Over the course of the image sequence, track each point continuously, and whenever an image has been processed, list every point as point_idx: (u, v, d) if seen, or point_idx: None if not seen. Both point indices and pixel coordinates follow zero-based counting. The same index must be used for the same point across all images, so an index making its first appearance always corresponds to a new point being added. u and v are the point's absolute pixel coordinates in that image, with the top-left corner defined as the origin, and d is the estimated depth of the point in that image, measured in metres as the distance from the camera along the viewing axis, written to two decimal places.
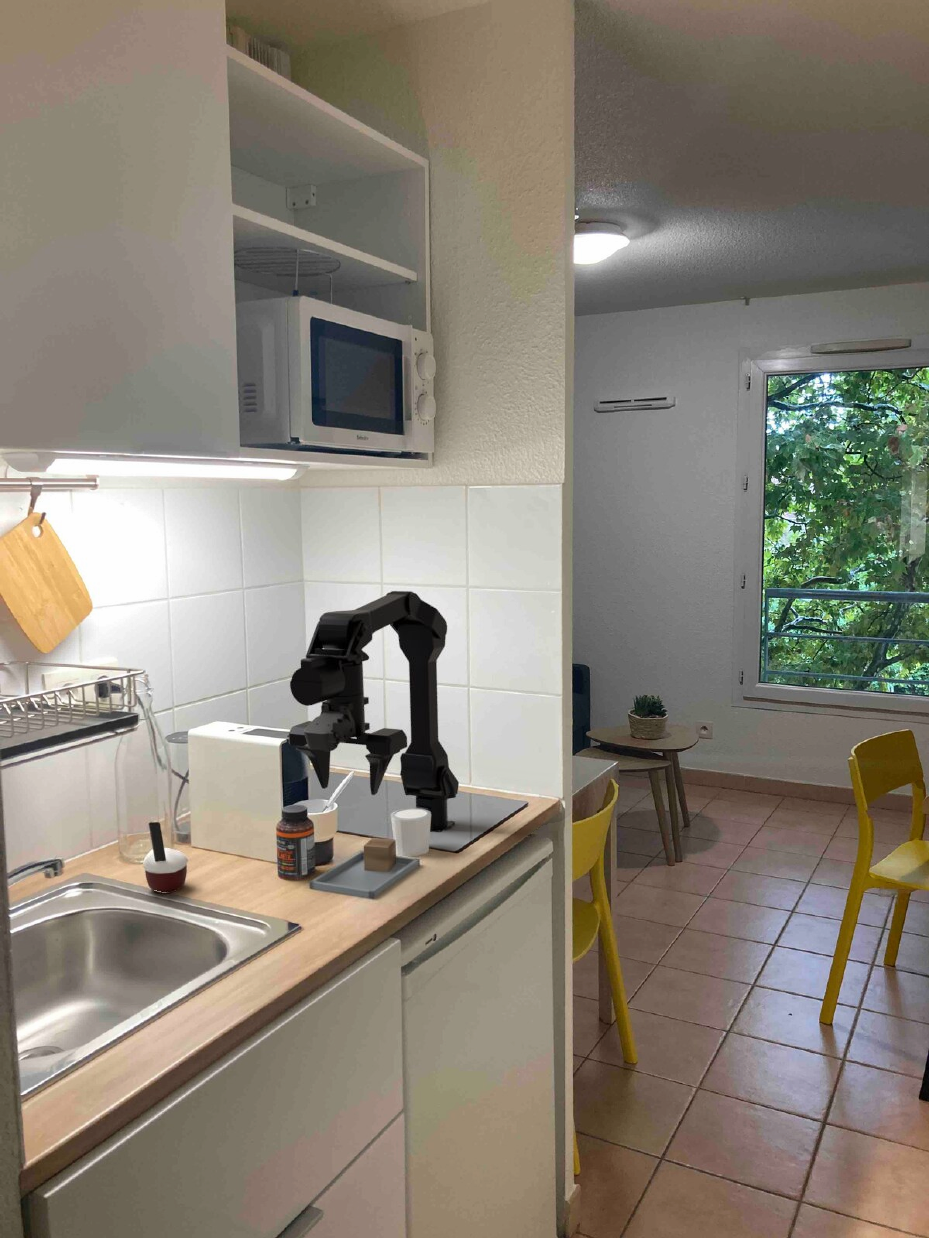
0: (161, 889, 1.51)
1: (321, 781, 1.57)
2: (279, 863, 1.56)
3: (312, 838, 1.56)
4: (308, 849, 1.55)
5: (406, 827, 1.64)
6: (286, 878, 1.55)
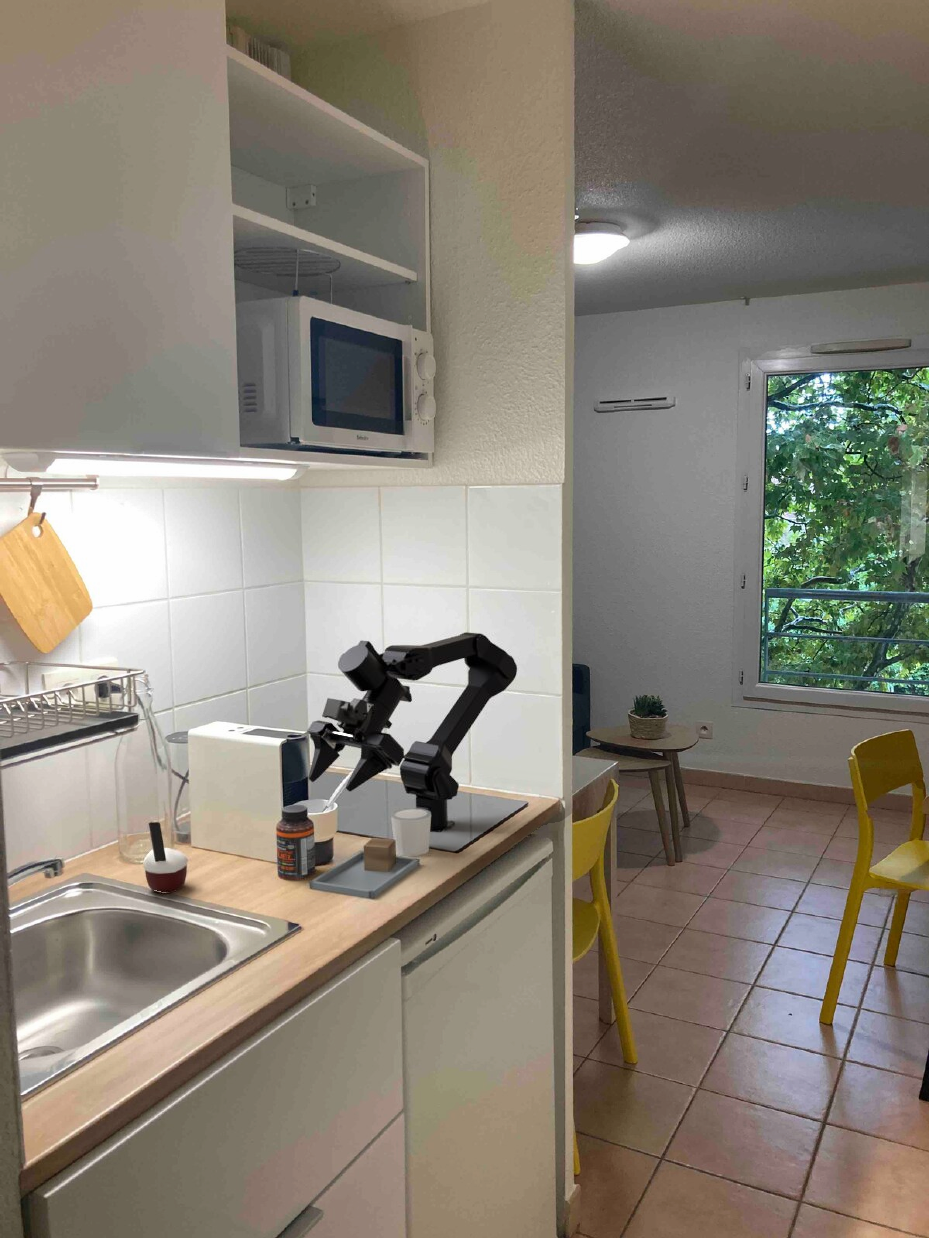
0: (161, 889, 1.51)
1: (311, 771, 1.65)
2: (279, 863, 1.56)
3: (312, 838, 1.56)
4: (308, 849, 1.55)
5: (406, 827, 1.64)
6: (286, 878, 1.55)
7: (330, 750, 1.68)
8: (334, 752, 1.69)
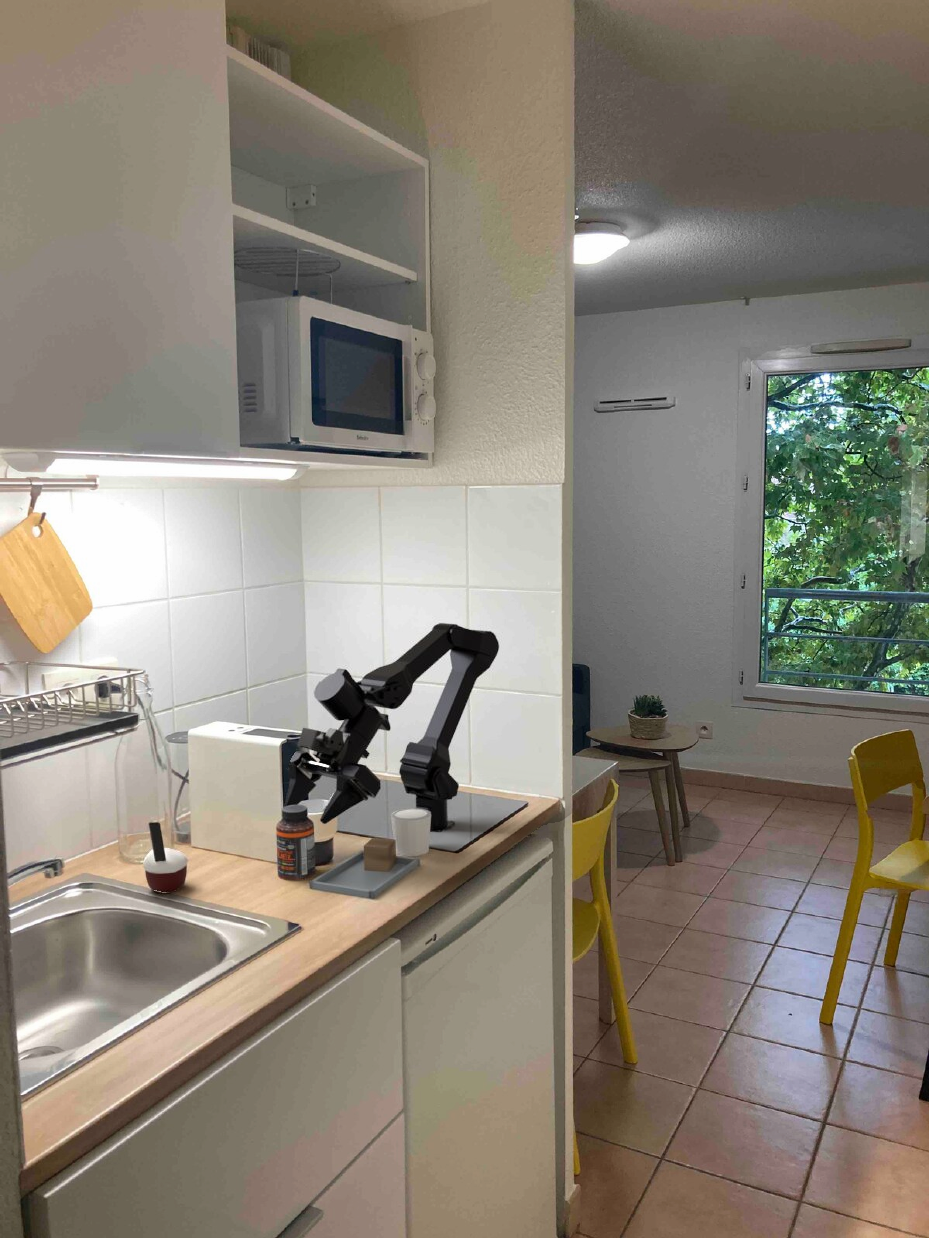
0: (161, 889, 1.51)
1: (286, 802, 1.61)
2: (279, 863, 1.56)
3: (312, 838, 1.56)
4: (308, 850, 1.55)
5: (406, 827, 1.64)
6: (286, 878, 1.55)
7: (306, 780, 1.65)
8: (310, 782, 1.65)
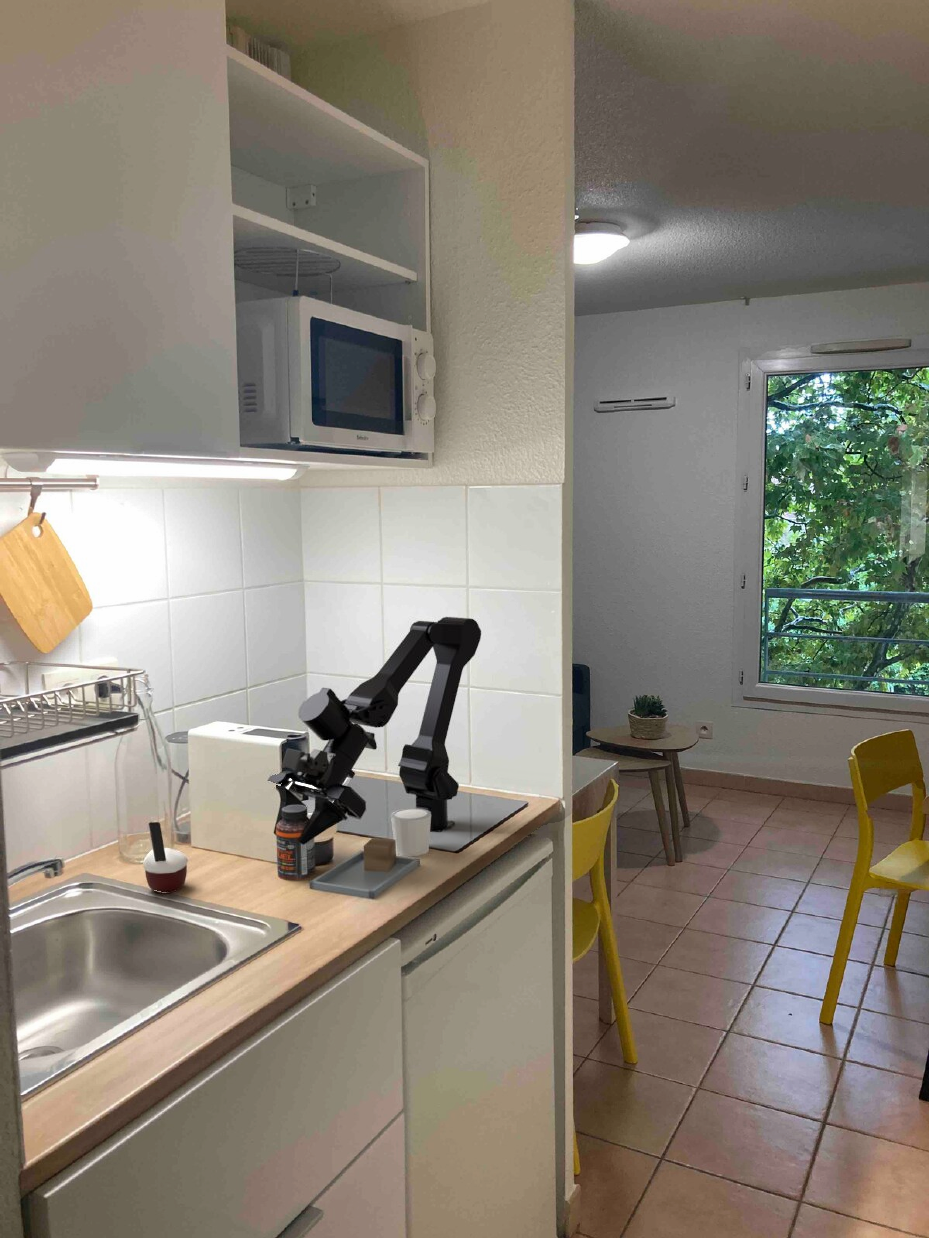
0: (161, 889, 1.51)
1: (276, 825, 1.58)
2: (279, 863, 1.56)
3: None
4: (308, 849, 1.55)
5: (406, 827, 1.64)
6: (286, 878, 1.55)
7: (297, 802, 1.61)
8: (301, 804, 1.62)
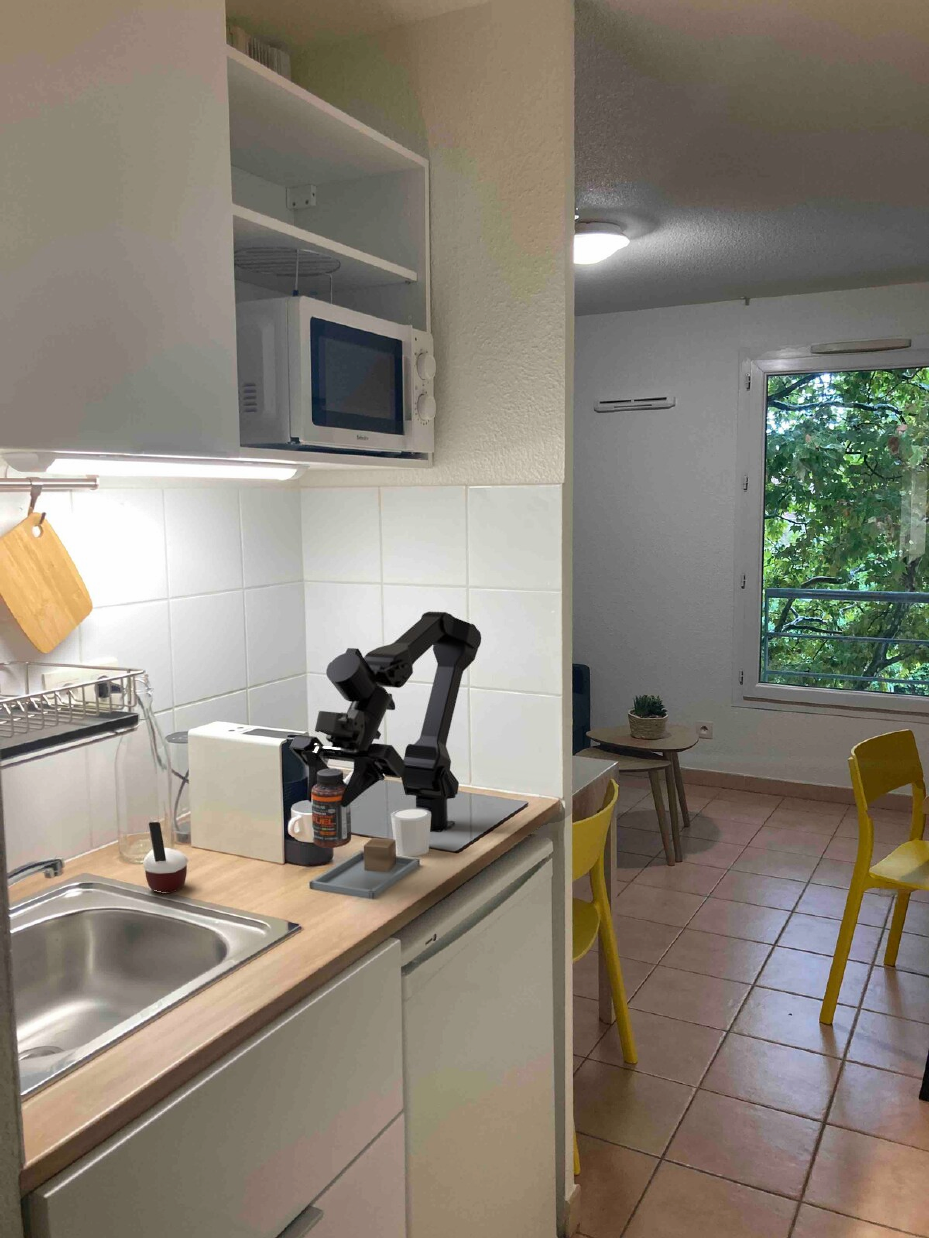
0: (161, 889, 1.51)
1: (309, 791, 1.53)
2: (317, 829, 1.51)
3: None
4: (347, 813, 1.52)
5: (406, 827, 1.64)
6: (326, 843, 1.51)
7: (324, 767, 1.57)
8: None
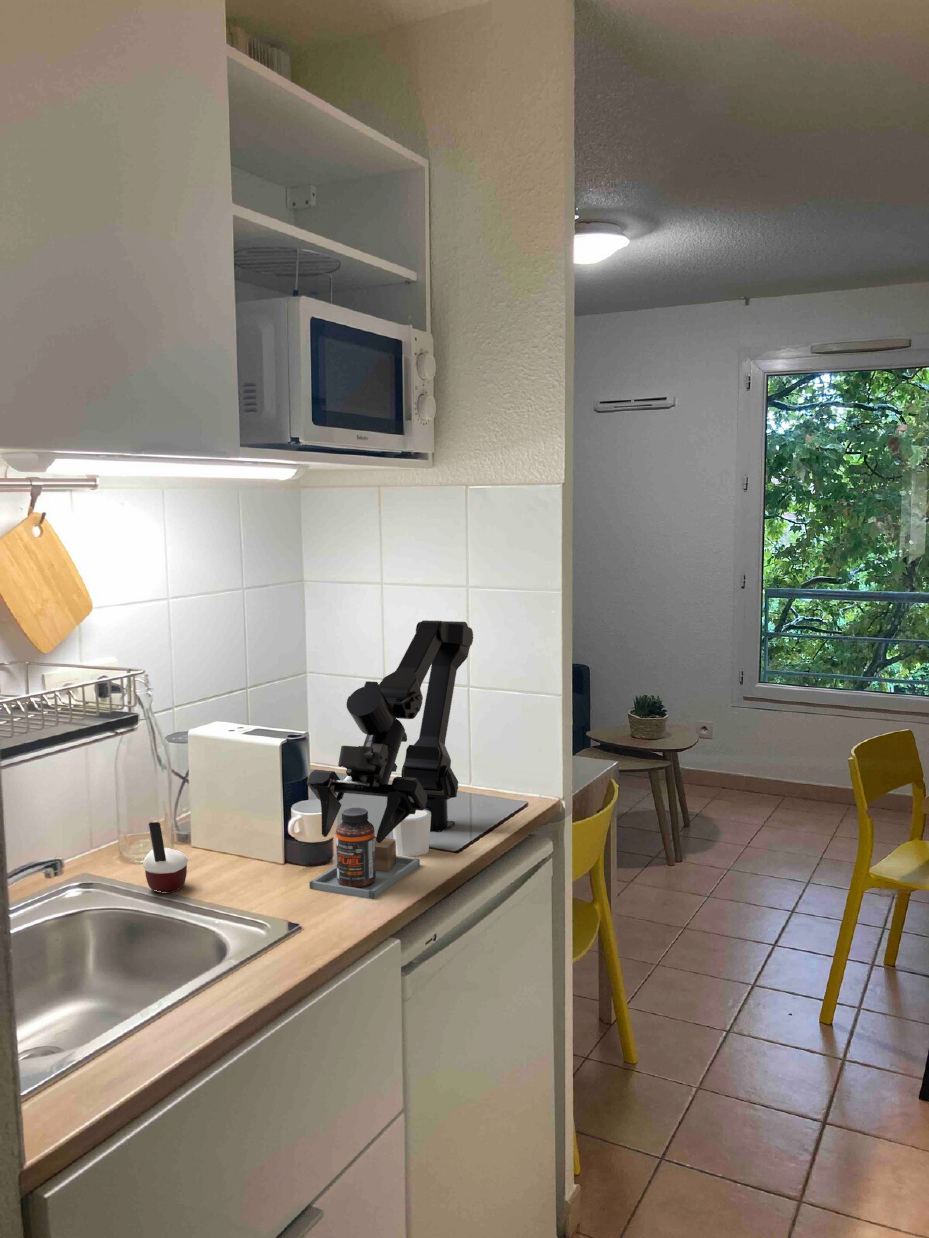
0: (161, 889, 1.51)
1: (324, 826, 1.53)
2: (344, 869, 1.50)
3: (374, 840, 1.53)
4: (373, 852, 1.52)
5: (406, 827, 1.64)
6: (353, 884, 1.50)
7: (335, 800, 1.57)
8: (337, 802, 1.58)
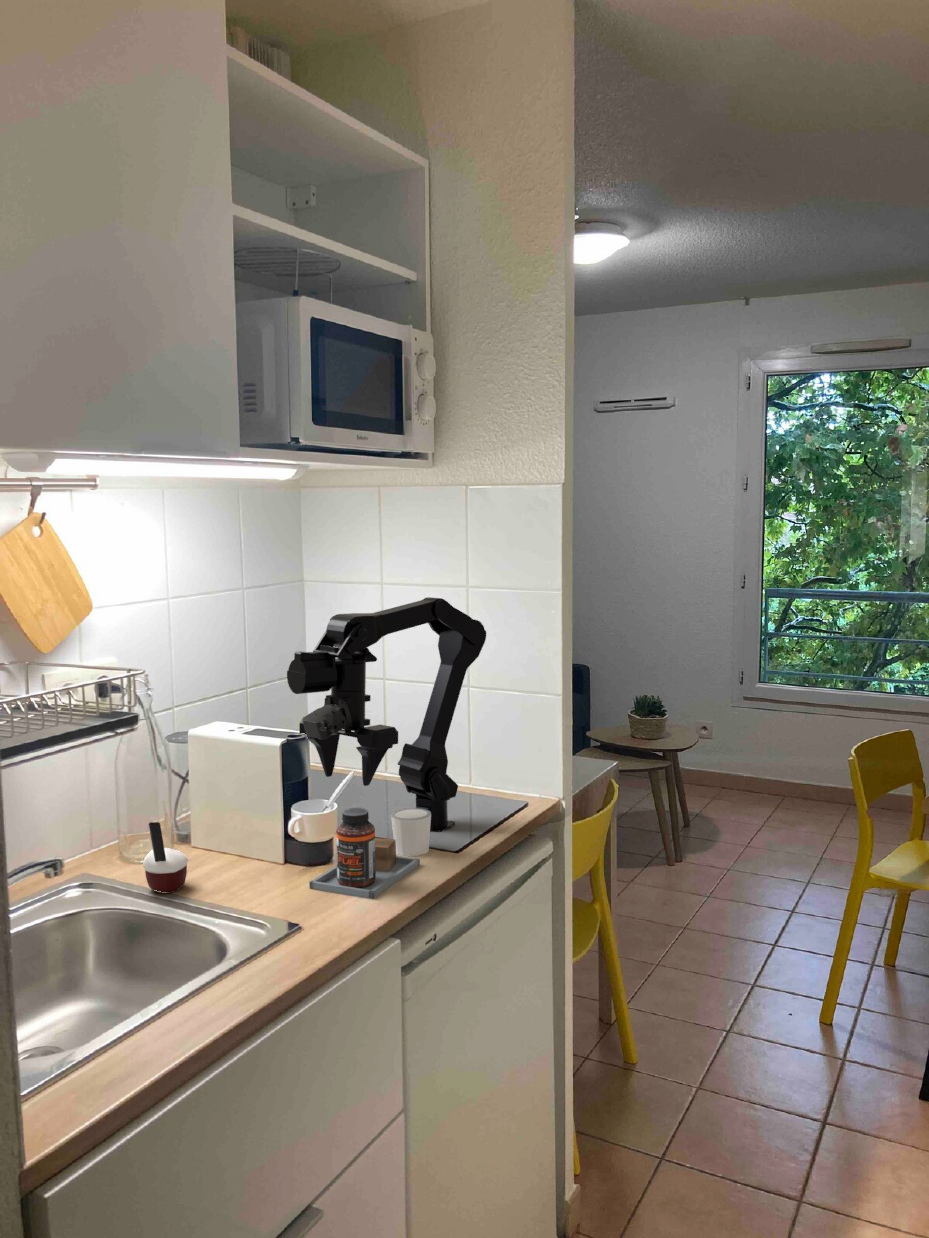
0: (161, 889, 1.51)
1: (325, 769, 1.70)
2: (344, 869, 1.50)
3: None
4: (373, 852, 1.52)
5: (406, 827, 1.64)
6: (353, 884, 1.50)
7: (329, 739, 1.71)
8: (334, 737, 1.72)
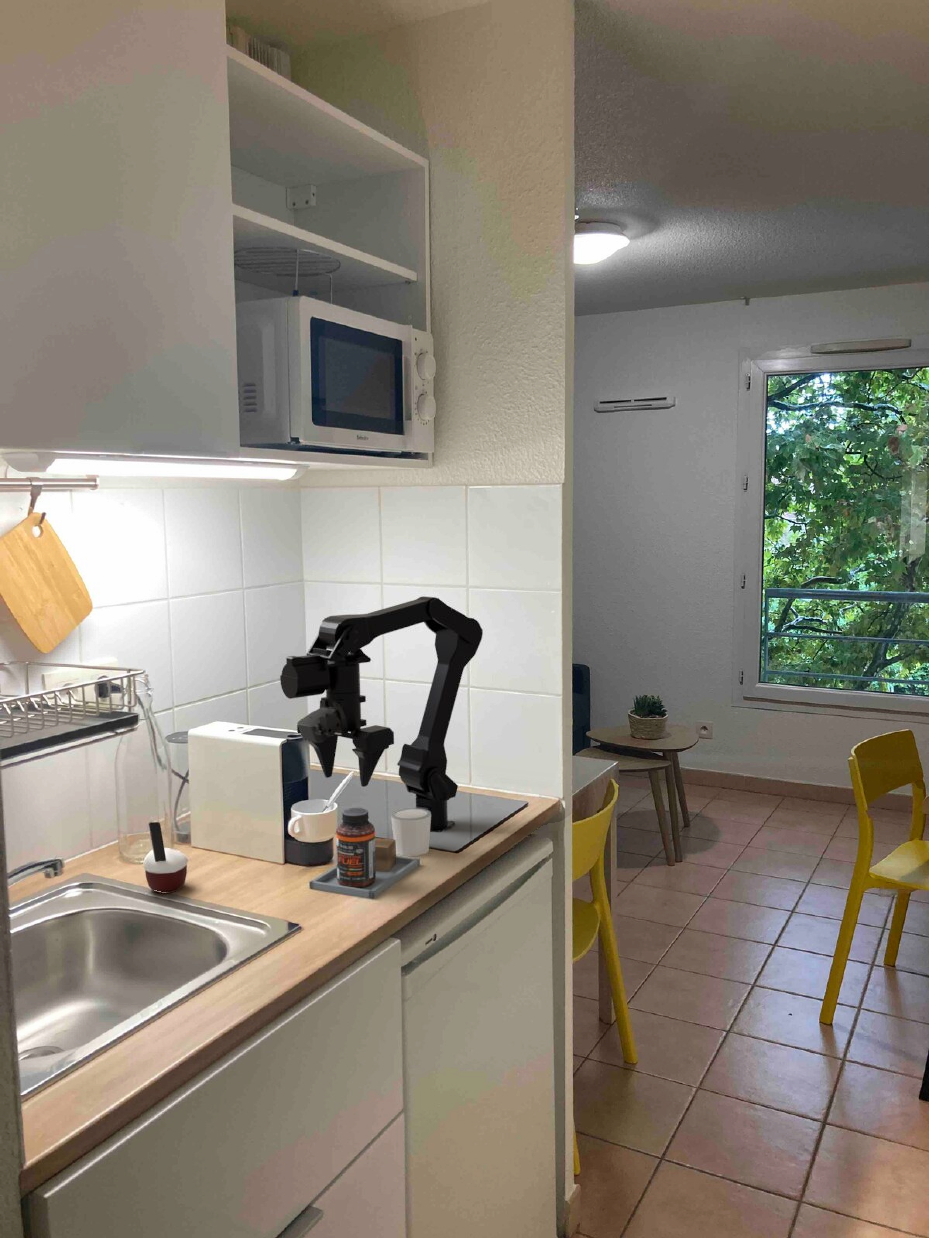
0: (161, 889, 1.51)
1: (324, 770, 1.71)
2: (344, 869, 1.50)
3: None
4: (373, 852, 1.52)
5: (406, 827, 1.64)
6: (353, 884, 1.50)
7: (327, 740, 1.72)
8: (332, 737, 1.72)
